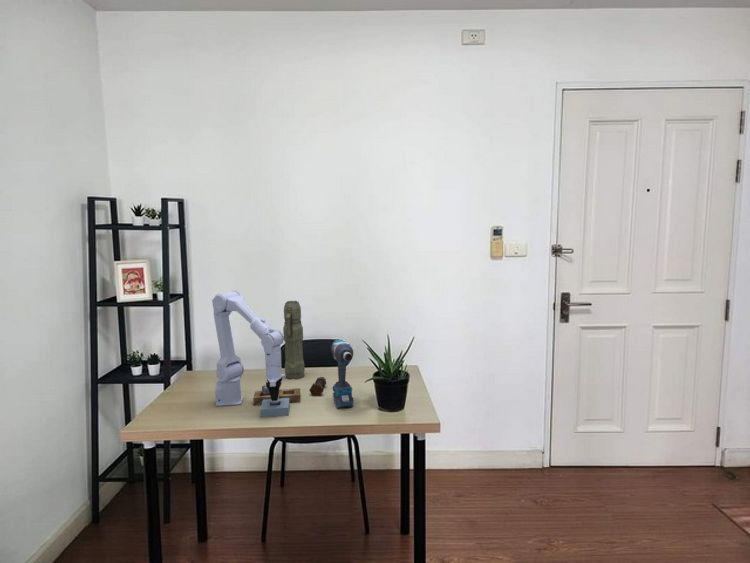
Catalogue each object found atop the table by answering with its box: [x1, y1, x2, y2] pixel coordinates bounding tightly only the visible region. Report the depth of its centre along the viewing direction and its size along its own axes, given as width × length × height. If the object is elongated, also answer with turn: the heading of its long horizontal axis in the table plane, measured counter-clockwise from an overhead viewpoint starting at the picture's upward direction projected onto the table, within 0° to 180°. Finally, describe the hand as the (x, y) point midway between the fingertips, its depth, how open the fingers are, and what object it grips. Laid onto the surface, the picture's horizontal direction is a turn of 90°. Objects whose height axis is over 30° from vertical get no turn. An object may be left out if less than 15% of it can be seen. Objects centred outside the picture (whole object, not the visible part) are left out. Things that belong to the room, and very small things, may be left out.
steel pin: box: [271, 394, 279, 406], centre depth 184 cm, size 3×3×7 cm
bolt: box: [309, 376, 327, 397], centre depth 207 cm, size 6×5×15 cm
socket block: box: [259, 398, 291, 418], centre depth 185 cm, size 10×10×3 cm
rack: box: [252, 388, 301, 406], centre depth 196 cm, size 18×8×3 cm, turn 98°
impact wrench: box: [331, 338, 354, 409], centre depth 188 cm, size 8×23×25 cm, turn 16°
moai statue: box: [282, 300, 306, 380], centre depth 224 cm, size 9×12×35 cm
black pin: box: [261, 384, 269, 396], centre depth 195 cm, size 3×3×6 cm
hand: (275, 398), depth 184 cm, fingers closed on steel pin, 3 cm apart
